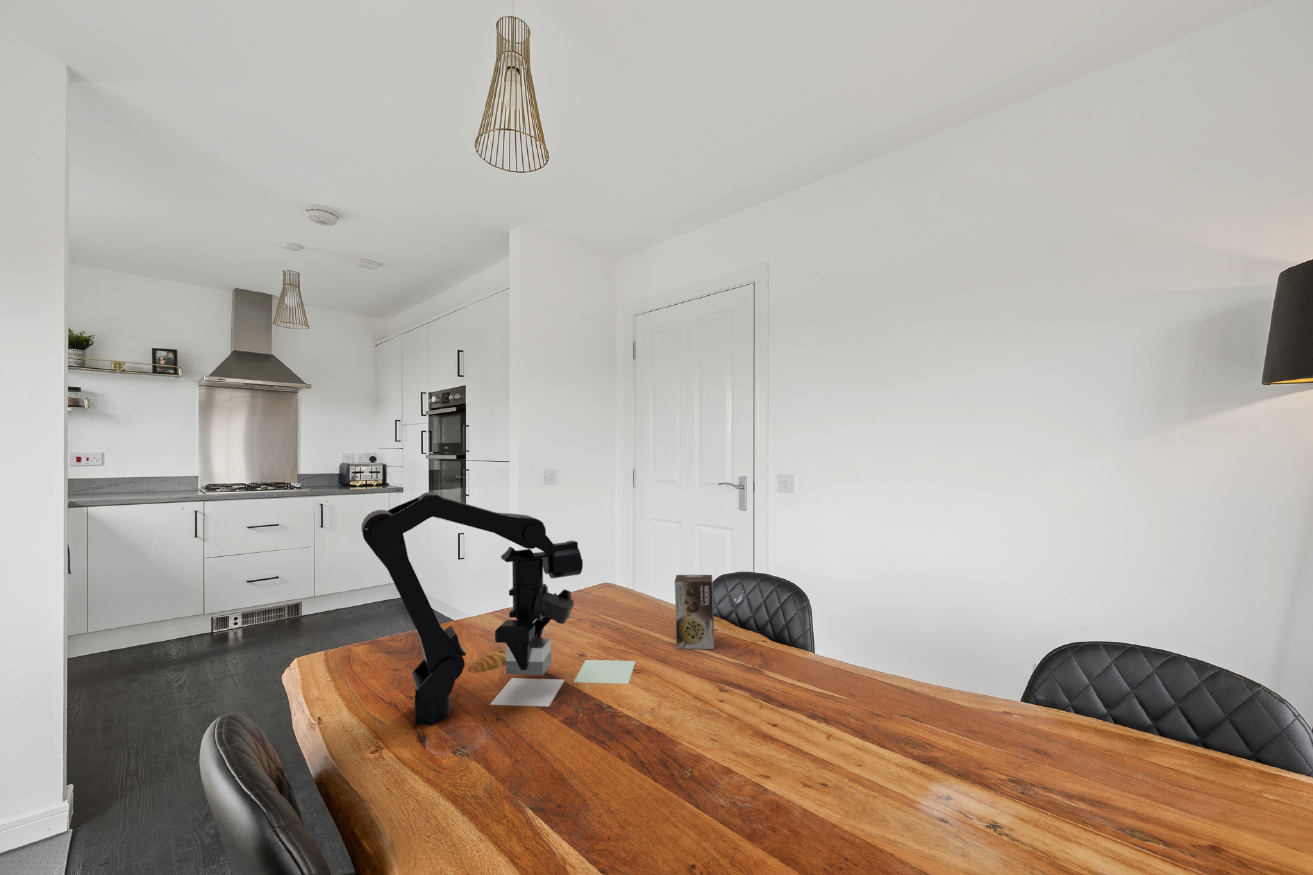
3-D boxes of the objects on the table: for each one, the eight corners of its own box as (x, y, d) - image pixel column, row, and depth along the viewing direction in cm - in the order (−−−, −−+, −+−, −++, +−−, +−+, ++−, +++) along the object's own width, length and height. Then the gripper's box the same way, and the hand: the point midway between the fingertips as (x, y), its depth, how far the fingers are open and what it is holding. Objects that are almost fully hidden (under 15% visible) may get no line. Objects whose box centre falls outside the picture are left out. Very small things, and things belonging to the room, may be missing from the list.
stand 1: (548, 714, 98) (548, 706, 98) (490, 712, 100) (489, 704, 100) (564, 687, 109) (564, 679, 109) (511, 685, 110) (511, 678, 110)
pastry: (479, 684, 112) (478, 665, 112) (459, 676, 116) (459, 658, 116) (515, 668, 119) (515, 651, 119) (496, 661, 123) (496, 644, 123)
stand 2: (628, 691, 107) (628, 683, 107) (573, 689, 108) (573, 682, 108) (635, 667, 118) (635, 661, 118) (585, 666, 119) (585, 659, 119)
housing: (542, 675, 101) (542, 648, 102) (506, 674, 102) (505, 647, 102) (551, 663, 107) (550, 637, 107) (516, 662, 108) (516, 637, 108)
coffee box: (714, 639, 134) (713, 574, 134) (714, 649, 128) (713, 580, 128) (677, 639, 135) (676, 573, 135) (675, 649, 129) (674, 580, 129)
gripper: (555, 596, 95) (556, 686, 94) (580, 570, 113) (581, 645, 113) (493, 595, 96) (494, 684, 96) (528, 570, 114) (529, 644, 114)
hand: (529, 663), depth 105 cm, fingers closed on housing, 5 cm apart
